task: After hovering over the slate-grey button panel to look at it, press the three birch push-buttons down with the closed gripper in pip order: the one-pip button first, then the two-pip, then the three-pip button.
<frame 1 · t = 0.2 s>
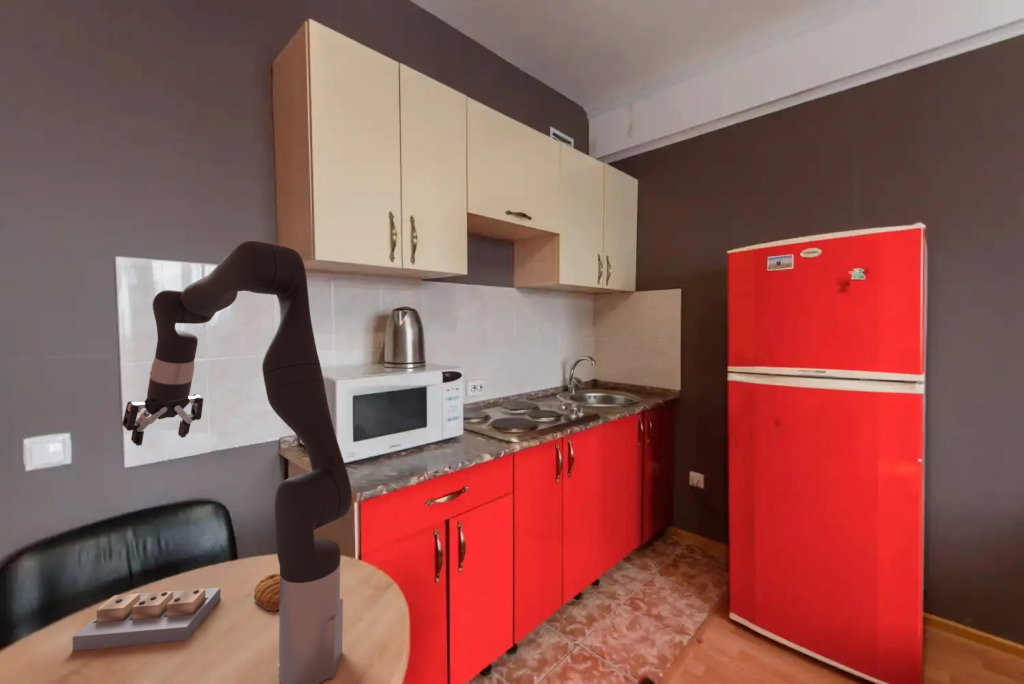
hand: (160, 439, 98), 31 cm above the table, tool tilted 20°, fingers open, 8 cm apart
panel: (153, 622, 82), on the table
pastry: (275, 599, 90), on the table
button 2: (186, 601, 82), point 4 cm above the table, slide at 0.0 cm
button 1: (119, 607, 80), point 4 cm above the table, slide at 0.0 cm
button 3: (153, 604, 81), point 4 cm above the table, slide at 0.0 cm
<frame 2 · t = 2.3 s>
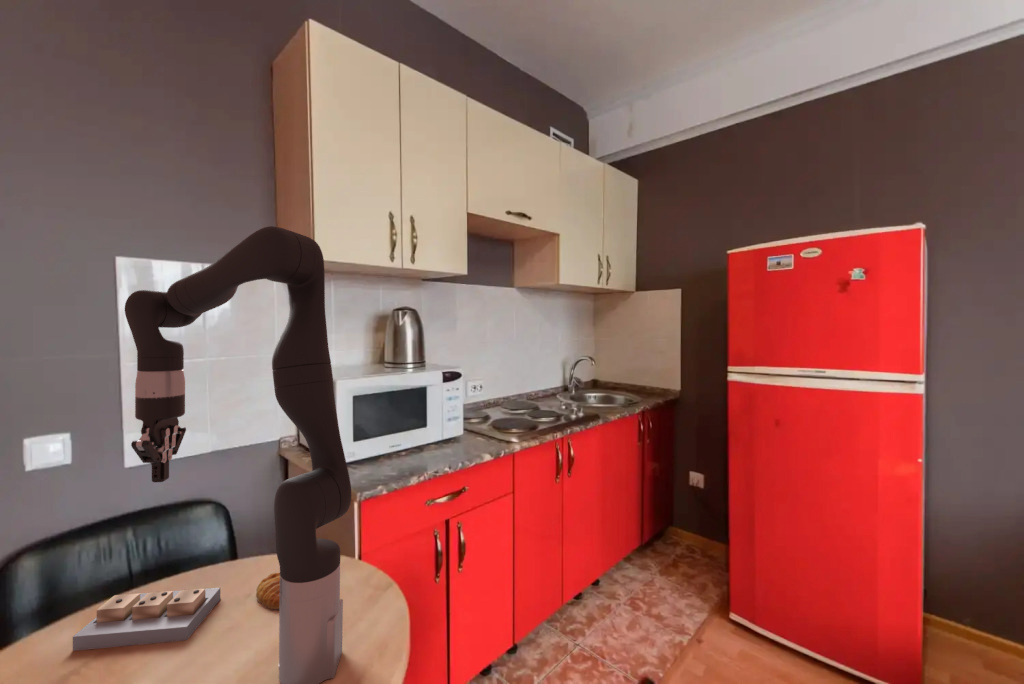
hand: (160, 480, 83), 27 cm above the table, tool pointing down, fingers closed
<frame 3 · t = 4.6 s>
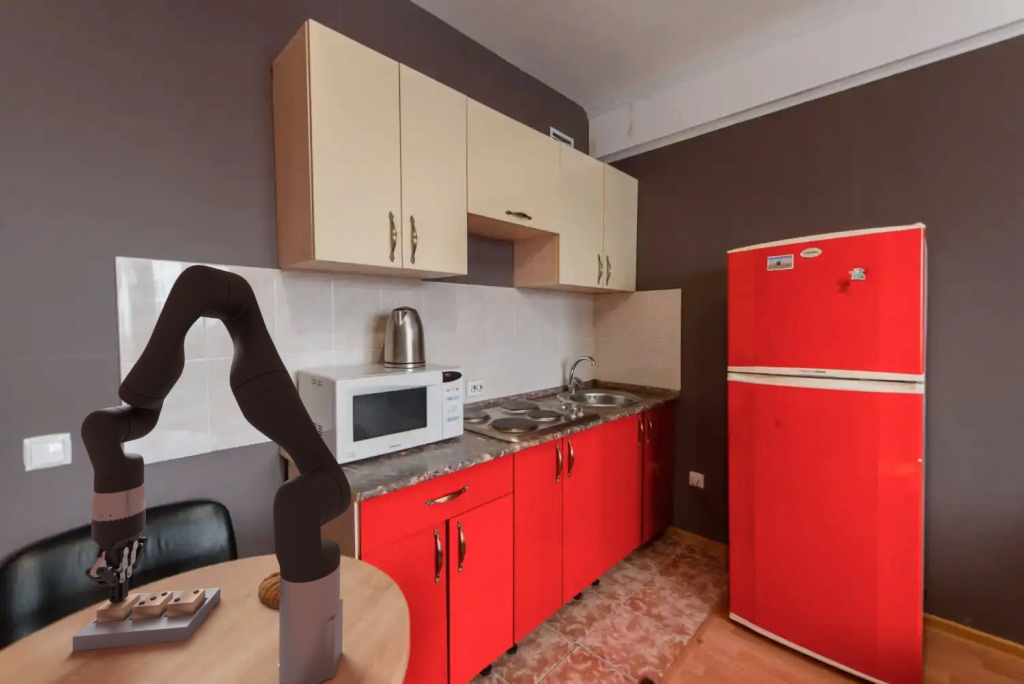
hand: (118, 599, 81), 5 cm above the table, tool pointing down, fingers closed
button 1: (119, 607, 80), point 4 cm above the table, slide at 0.0 cm, touching gripper
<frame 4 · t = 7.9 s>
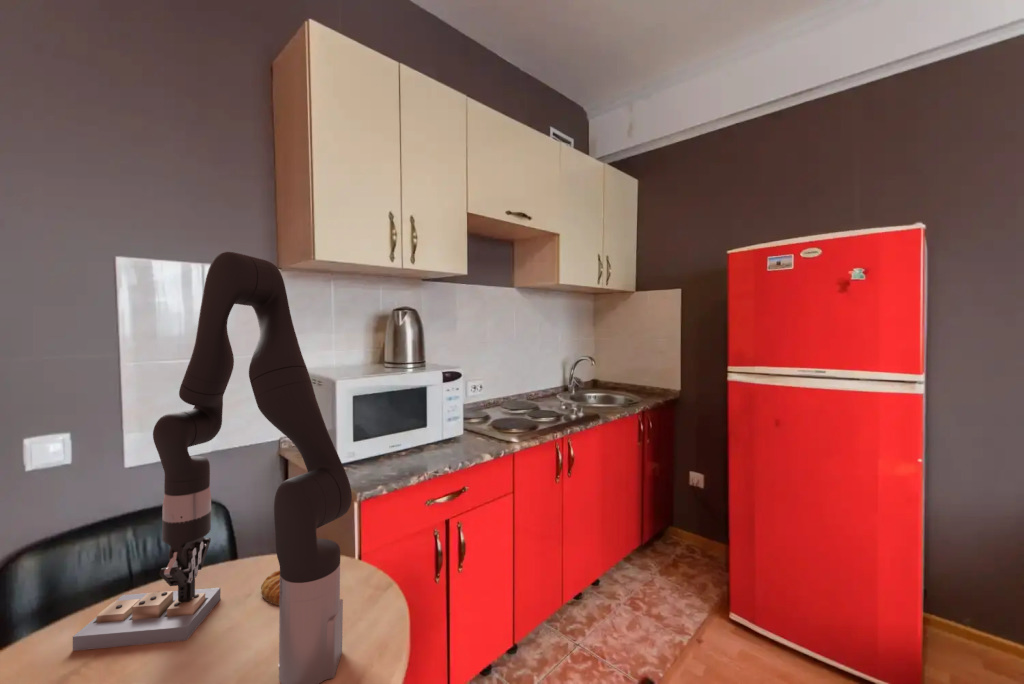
hand: (186, 599, 83), 4 cm above the table, tool pointing down, fingers closed
button 2: (186, 606, 82), point 3 cm above the table, slide at 0.9 cm, touching gripper
button 1: (119, 613, 80), point 2 cm above the table, slide at 1.1 cm
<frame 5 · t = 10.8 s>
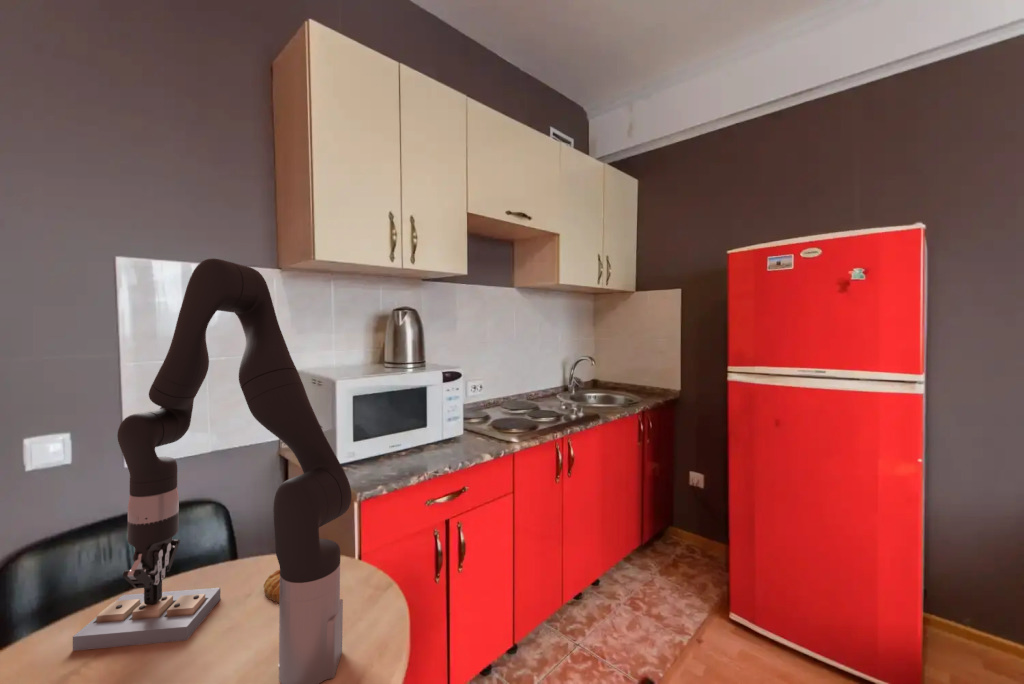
hand: (153, 601, 82), 4 cm above the table, tool pointing down, fingers closed
button 2: (186, 607, 82), point 2 cm above the table, slide at 1.1 cm
button 3: (153, 609, 81), point 3 cm above the table, slide at 0.9 cm, touching gripper
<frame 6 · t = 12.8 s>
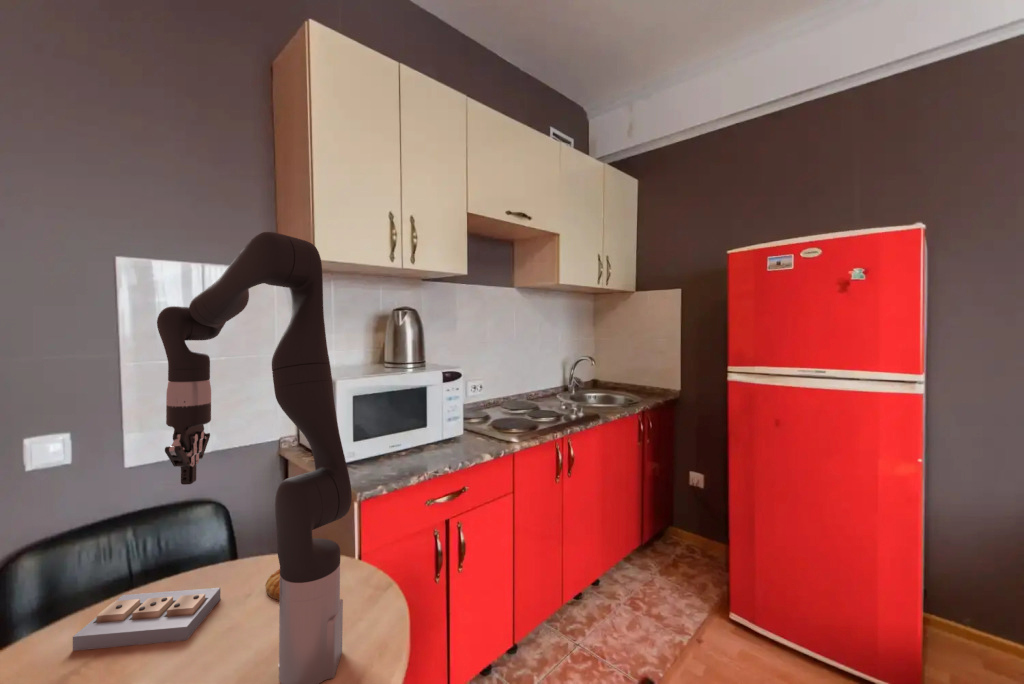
hand: (188, 483, 89), 24 cm above the table, tool pointing down, fingers closed
button 3: (153, 610, 81), point 2 cm above the table, slide at 1.1 cm
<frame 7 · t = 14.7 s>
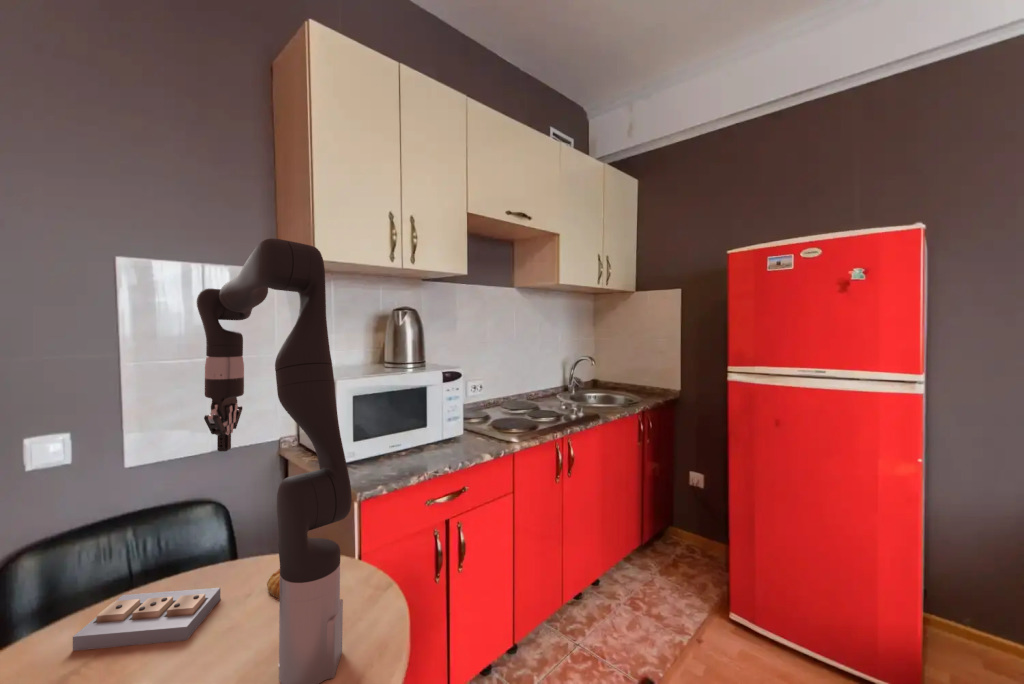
hand: (224, 450, 98), 29 cm above the table, tool pointing down, fingers closed
at the end: button 1 slide at 1.1 cm; button 2 slide at 1.1 cm; button 3 slide at 1.1 cm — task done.
